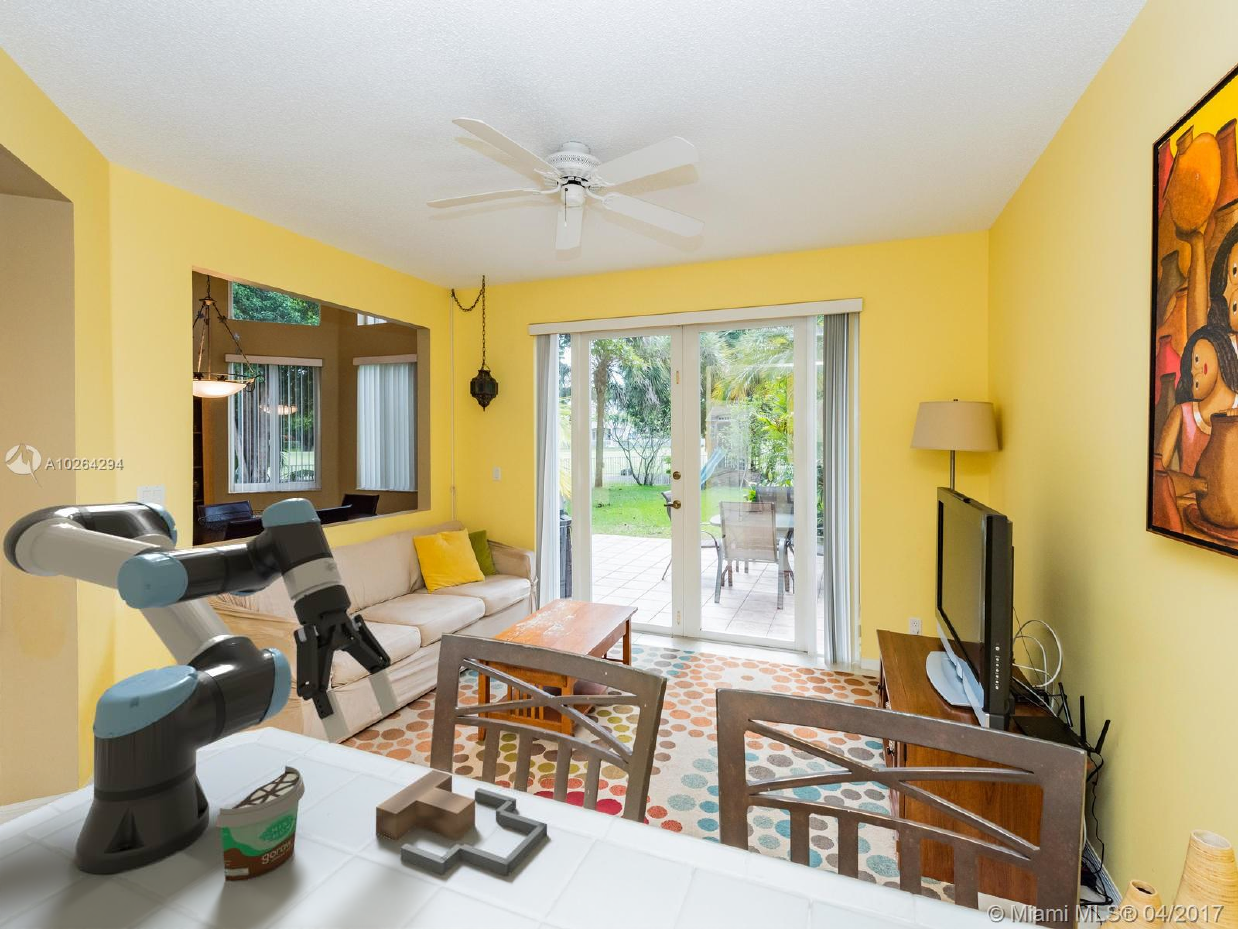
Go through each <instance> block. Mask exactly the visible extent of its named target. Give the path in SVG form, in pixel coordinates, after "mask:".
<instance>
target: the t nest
mask: <svg viewBox="0 0 1238 929" xmlns="http://www.w3.org/2000/svg"><path fill="white" fill-rule="evenodd" d="M474 799H475V802H476V801H477V802H480V803H484V804H486V805H490V806H493V807H496V808H497V809H496V810H495V821H497V822H498V824H499V825H502V826H504V827H508V828H511V829H514V830H517V831H520V832H523V833H526V834H528V835H527V836H526V837H525V838H524V839H523V840H522V841H521V842H520V843H519V844H518V845H517V846H516V847H515V848H514V849H513V850H512V851H511V852H510V853H508V855H507V856H506V857H502V856H500V855H497V854H495V853H491V852H488V851H487V850H486V851H485V850H482V849H481V848H477V847H474V846H472V845H470V844H469V845H468V844H466V843H464V844H463V845H460V844H458V843H455V845H454V846H453V847H452V848H450V849H449V850H448V851H447V852H446V853H445V854H443V855H442V856H441V855H438V854H436V853H433V852H431V851H428V850H425V849H423V848H419V847H418V846H414V845H412V844H409V843H405V844H403V845H402V846H401V847H400V859H402V860H404V861H407V862H410V863H411V864H414V865H417V866H419V867H422V868H424V869H427V870H430V871H433V872H435V873H438V874H440V875H444V874H445V873H446V872H447V871H448V870H449V869H451V867H452V866H454V865H455V864H456V863H457V862H458V861H459V860H462V861H463V862H464V861H465V862H467V863H470V864H472V865H475V866H478V867H481V868H484V869H486V870H489V871H491V872H494V873H497V874H499V875H502V876H506V877H508V876H509V875H510V874H511V873H512V872H513V870H515V868H517V866H518V865H519V864H521V862H522V861H523V860H524V859H525V858H526V857H527V856H528V855H529V854H530V853H531V852H532V851H533V850H534V849H535V848H536V846H538V844H539V843H541V841H542V840H543V839H544V838H545V837H546V835H548V823H544V822H542V821H538V820H535V819H532V818H528V817H526V816H522V815H520V814H515V813H513V812H514V811H515V810H517V798H514V797H511V796H508V795H505V794H502V793H497V792H494V791H490V790H487V789H483V788H480V787H478V788H477V789H475V790H474Z"/></svg>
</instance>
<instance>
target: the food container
mask: <svg viewBox="0 0 1238 929" xmlns="http://www.w3.org/2000/svg"><path fill="white" fill-rule="evenodd" d="M305 789H306V788H305V784H304V779H303V776H302V775H301V773H300V771H299V770H298V769H296V768H295V767H293V766H290V765H289V766H288V765H285V767H284V773H282V774H281V775H279V776H278V777H277V778H275V779H274V780H271V782H268V783H266V784H264V785H262V786H260V787H258V788H256V789H255V790H253V791H252V792H251V793H250V794H249V795H248V796H246V797H245V798H243V800H242V801H240V802H238V804H236V805H235V806H233V807H232V808H223V807H222V808H219V814H218V815H217V821H216V827H217V828H220V830H221V833H220V834H221V844H222V845H221V846H222V852H223V853H222V856H223V867H224V868H223V869H224V880H225V882H242V881H248V879H249V880H252V879H257V878H260V877H262V876H265V875H267V874H268V873H271V872H273V871H275V870H276V869H278V868H280V867H282V866H283V865H285V863H286V862H287V861H289V859H290V858H291V856H292V855H293V853H294V850H295V840H296V832H297V831H296V830H297V822H298V812H299V803H300V800H301V799H302V797H303V796H304V794H305Z"/></svg>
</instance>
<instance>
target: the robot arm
mask: <svg viewBox="0 0 1238 929" xmlns="http://www.w3.org/2000/svg"><path fill="white" fill-rule="evenodd" d="M315 509H316V508H315V507H314V506H313V503H312V501H310V500H308V499H307V498H301V497H299V498H297V497H296V498H289V499H288V498H287V499H285V500H282V501H279V502H276V503H273V504H271V505H269V506H267V507H266V508H265V509H264V510H263V511H262V515H261V516H260V517H261V522H262V527H263V529H264V530H263V531H262V532H261V533H260V534H258V535H256V536H255V537H254V538H253V539H251V540H249V541H245V542H239V543H231V544H223V545H222V544H221V545H213V546H205V547H199V548H197V547H196V548H186V549H177V548H176V546H177V542H178V530H177V529H175V526H176V522H175V519H174V518H173V516H172V515H171V514H170V512H169V511H168V510H167V509H165V507H163V506H161V505H159V504H157V503H154V502H139V501H125V502H121V503H120V502H118V503H97V504H94V503H93V504H75V505H71V504H70V505H69V504H66V505H65V504H63V505H54V506H49V507H45V508H41V509H38V510H34V511H33V512H31V513H28V514H26V515H25V516H23V517H21V518H20V519H18V520H16V522H15V523H13V525H12V526H11V527H9V529H8V530H7V532H6V534H5V535H4V537H3V543H2V545H3V546H2V547H3V548H2V549H3V552H4V557H5V558H6V559H7V561H8V562H9V563H10V564H11V565H12V566H13V567H14V568H16V569H17V570H20V571H21V572H24V573H27V574H31V575H35V576H39V577H55V576H56V577H57V576H60V575H61V576H65V577H69V578H72V579H76V580H79V581H83V582H87V583H90V584H94V585H99V586H102V587H106V588H110V589H112V590H113V589H114V590H117V591H118V594H119V596H120V598H121V600H122V601H125V604H126V605H127V606H128V607H130V608H132V609H135V610H139V611H140V614H142V616H143V617H144V619H145V620H146V621H147V622H148V624H149V625H150V627H151V629H152V630H153V631H154V633H155V634H156V636H158V638H159V639H160V640H161V642H162V643H163V645H164V646H165V647H166V649H167V650H168V651H169V653H170V654H171V655H172V657H173V658H174V660H175V661H176V663H177V664H178V665H177V664H176V665H167V666H163V667H162V668H153V669H149V670H145V671H142V672H140V673H139V672H138V673H137V674H133V675H131V676H128V677H126V678H124V679H122V680H120V681H118V682H117V683H115V684H113V685H111V686H110V687H109V688H108V689H106V690H105V691H104V692H103V693H102V695H101V696H100V697H99V699H98V701H97V703H96V707H95V715H94V719H93V720H94V722H93V723H92V733H93V734H94V735H93V798H92V803H91V806H90V807H89V810H88V812H87V816H86V818H85V820H84V823H83V825H82V828H81V831H80V833H79V836H78V837H77V841H76V845H75V864H76V866H77V868H78V869H80V871H83V872H85V873H90V874H99V875H100V874H101V875H103V874H114V873H120V872H121V873H122V872H125V871H126V872H127V871H130V870H134V869H135V870H136V869H139V868H142V867H144V866H149V865H151V864H154V863H156V862H159V861H161V860H163V859H164V860H165V859H166V858H168V857H170V856H173V855H174V854H176V853H178V852H180V851H182V850H183V849H185V848H187V847H188V846H189V845H191V844H192V843H194V842H195V841H196V840H197V839H198V838H200V837H201V836H202V835H203V833H204V832H205V831H206V829H207V828H208V826H209V824H210V805H209V801H208V799H207V797H206V794H205V792H204V789H203V786H202V784H201V781H200V780H199V778H198V775H197V751H198V750H199V749H201V748H203V747H205V746H208V745H210V744H213V743H215V742H218V741H221V740H223V739H225V738H227V737H229V736H230V737H231V736H233V735H235V734H238V733H239V732H242V731H244V730H246V729H249V728H251V727H256V726H259V725H261V724H263V723H264V721H267V720H269V719H271V718H273V717H276V716H277V715H278V714H279V713H281V712H282V711H283V710H284V709H285V707H286V706H287V703H288V701H289V700H290V697H291V693H292V692H291V691H292V685H293V684H292V683H293V682H292V680H293V676H292V669H291V666H290V663H289V660H288V658H287V657H286V655H285V654H284V652H282V651H281V650H279V649H278V648H275V647H274V648H272V647H271V648H270V647H264V648H263V649H259V648H258V647H257V645H256V644H255V643H254V642H253V640H252V639H251V638H250V637H249V636H248V635H244V634H236V635H235V634H234V633H233V632H232V631H231V629H230V628H229V626H228V625H227V624H226V623H225V622H224V621H223V619H222V618H221V617H220V615H219V614H218V613H217V612H216V611H215V608H213V606H212V605H211V604H210V603H209V601H208V600H207V599H206V598H208V597H214V596H222V595H226V594H228V595H232V596H235V597H239V598H240V597H241V598H245V597H250V596H252V595H255V594H257V593H259V592H262V591H264V590H265V589H266V588H267V587H270V586H271V585H272V584H273V583H274V582H275V581H277V580H278V579H280V578H281V577H282V579H283V582H284V586H285V588H286V591H287V594H288V597H289V599H290V601H292V602H294V603H293V604H294V605H293V606H292V607H293V610H294V613H295V614H296V618H297V620H298V623H299V625H300V626H301V627H299V628H297V629H295V630H294V631H293V632H292V633H293V637H294V641H295V645H296V695H297V696H298V698H302V699H303V701H310V700H311V699H312V703H313V704H314V708H315V710H316V713H317V715H318V718H319V720H320V721H321V723H322V726H323V728H324V732H325V734H326V738H327V739H328V743H329V744H332V743H333V742H336V741H338V740H339V739H341V738H343V737H346V736H347V735H350V733H351V732H350V729H349V727H348V724H347V722H346V719H345V716H344V714H343V711H342V708H341V706H340V703H339V701H338V698H337V694H336V693H335V692H336V691H335V690H334V688H332V689H329V684H330V679H331V672H332V665H333V659H334V653H335V652H339V651H341V652H345V653H347V654H349V655H350V656H351V657H352V659H354V660H355V661H356V662H357V663H358V664H359V665H360V666H362V668H364V670H366V671H367V672H368V673H369V674H371V675H370V676H368V677H367V678H368V680H369V683H370V686H371V688H372V691H373V693H374V694H373V695H374V696H375V699H376V702H377V704H378V707H379V710H380V712H381V715H382V716H385V715H387V714H389V713H391V712H393V711H396V710H397V709H399V708H400V705H399V702H398V700H397V697H396V694H395V692H394V689H393V686H392V683H391V681H390V679H389V675H388V674H387V671H386V669H388V668H389V667H391V662H392V659H391V657H390V655H388V653H387V652H386V649H384V647H383V646H382V644H380V643H379V641H378V640H377V638H376V636H374V634H373V632H372V631H371V630H370V628H369V627H368V626H367V623H366V622H365V620H364V617H363V616H362V614H360V613H358V614H356V615H354V616H353V617H350V616H349V615H348V613H347V612H348V609H350V607H351V605H352V602H351V599H350V596H349V594H348V591H347V589H346V586H345V585H343V584H341V583H342V580H343V579H342V576H341V574H340V572H339V569H338V564H337V562H335V558H334V556H333V553H332V551H331V548H330V545H329V541H328V539H327V537H326V535H325V531H324V529H323V526H322V523H321V519H320V518H319V516H318V513H317V512H316V510H315Z"/></svg>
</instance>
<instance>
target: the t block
mask: <svg viewBox="0 0 1238 929" xmlns="http://www.w3.org/2000/svg"><path fill="white" fill-rule="evenodd" d="M375 813H376V814H375V834H376V835H377V834H379V835H378V836H380V835H382V836H381V837H383V836H385V837H387V838H386V839H388V838H390V839H389V840H391V841H393V840H394V842H397V841H398V840H400V839H401V838H402V837H403V836H405V835H407V834H408V833H409V832H410V831H412V830H413V829H414V828H416V827H417V828H420V829H422V830H426V831H429V832H430V833H433V834H436V835H439V836H442V837H445V838H448V839H451V840H453V841H456V842H458V841H459V840H460V839H461V838H463V837H464V836H465V835H466V834H467V833H469V832H470V831H471V830H473V828H474V827H476V800H475V798H471V797H469V796H465V795H462V794H461V795H460V794H459V793H454V792H453V775H452V774H450V773H449V774H448V773H446V772H441V771H439V770H435V769H433V770H431V771H429V772H428V773H426V774H425V775H422V777H420V778H418V779H417V780H415V781H414V782H413V783H410V784H409V785H408V786H406V787H404V788H403V789H401V790H400V791H399V792H397V793H395V794H394V795H392V796H391V797H390V798H388V799H386V800H384V801H383V802H382V803H380V804H379V805H377V806H375ZM385 837H384V838H385ZM399 838H400V839H399Z"/></svg>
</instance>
